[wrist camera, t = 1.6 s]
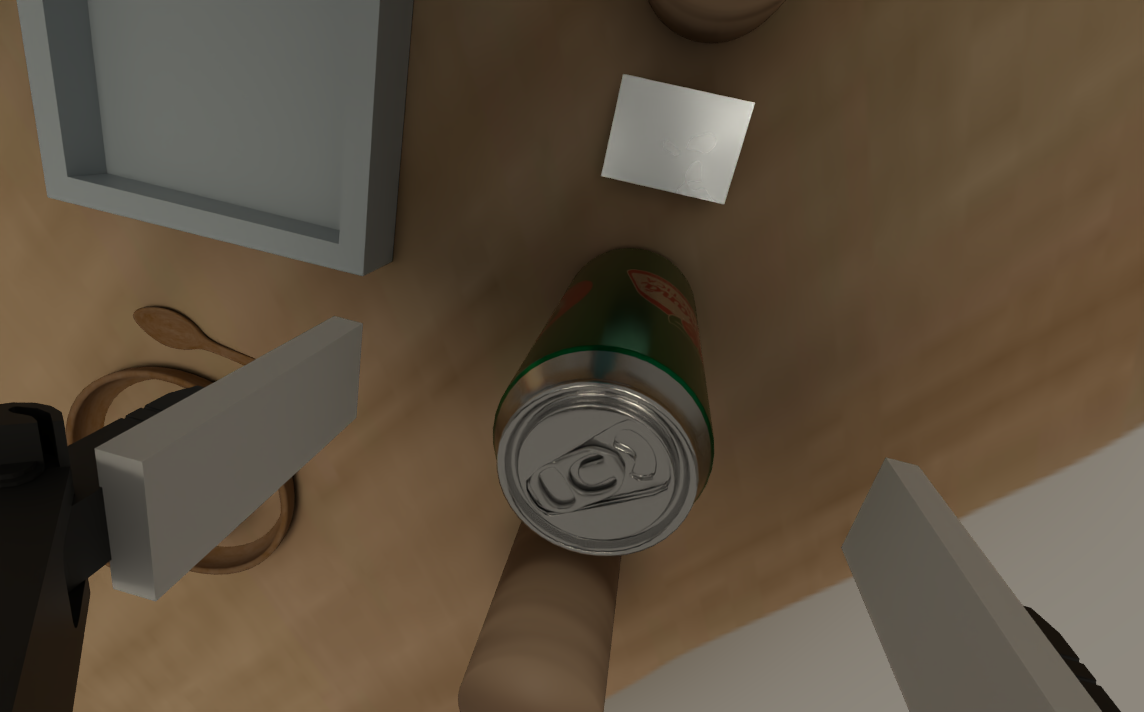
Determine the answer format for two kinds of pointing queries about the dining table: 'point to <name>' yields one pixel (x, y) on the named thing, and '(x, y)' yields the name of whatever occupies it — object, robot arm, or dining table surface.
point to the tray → (228, 117)
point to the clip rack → (676, 138)
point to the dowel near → (714, 17)
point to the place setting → (184, 335)
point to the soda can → (609, 411)
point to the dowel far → (545, 632)
